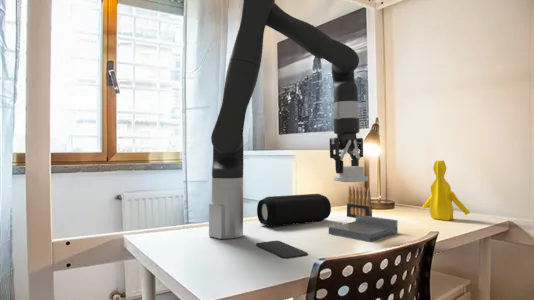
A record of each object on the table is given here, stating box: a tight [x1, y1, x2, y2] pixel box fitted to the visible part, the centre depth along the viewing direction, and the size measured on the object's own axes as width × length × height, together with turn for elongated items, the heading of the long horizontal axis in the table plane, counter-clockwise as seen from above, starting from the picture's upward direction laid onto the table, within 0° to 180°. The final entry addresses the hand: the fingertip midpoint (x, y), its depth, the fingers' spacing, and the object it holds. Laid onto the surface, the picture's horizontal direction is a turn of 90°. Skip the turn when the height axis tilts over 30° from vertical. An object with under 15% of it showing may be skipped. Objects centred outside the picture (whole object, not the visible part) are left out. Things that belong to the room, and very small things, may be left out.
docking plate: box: [328, 215, 399, 243], centre depth 113 cm, size 16×14×4 cm
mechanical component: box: [333, 165, 369, 183], centre depth 109 cm, size 10×4×10 cm
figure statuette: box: [421, 160, 471, 221], centre depth 137 cm, size 18×8×22 cm, turn 40°
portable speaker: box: [256, 193, 332, 228], centre depth 129 cm, size 26×10×10 cm, turn 118°
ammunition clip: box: [346, 185, 373, 219], centre depth 140 cm, size 11×2×12 cm, turn 38°
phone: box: [255, 240, 309, 260], centre depth 93 cm, size 7×1×15 cm
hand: (347, 172), depth 110 cm, fingers closed on mechanical component, 7 cm apart
